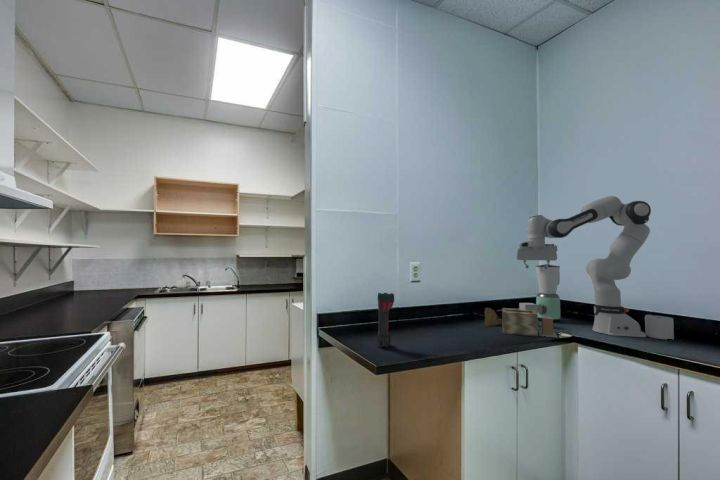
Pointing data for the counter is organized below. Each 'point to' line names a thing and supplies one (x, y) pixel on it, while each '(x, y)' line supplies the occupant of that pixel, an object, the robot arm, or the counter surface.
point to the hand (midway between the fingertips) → (536, 268)
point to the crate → (519, 322)
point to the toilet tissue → (659, 327)
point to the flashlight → (384, 319)
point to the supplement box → (529, 307)
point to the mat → (547, 334)
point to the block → (547, 325)
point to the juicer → (548, 292)
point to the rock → (491, 317)
